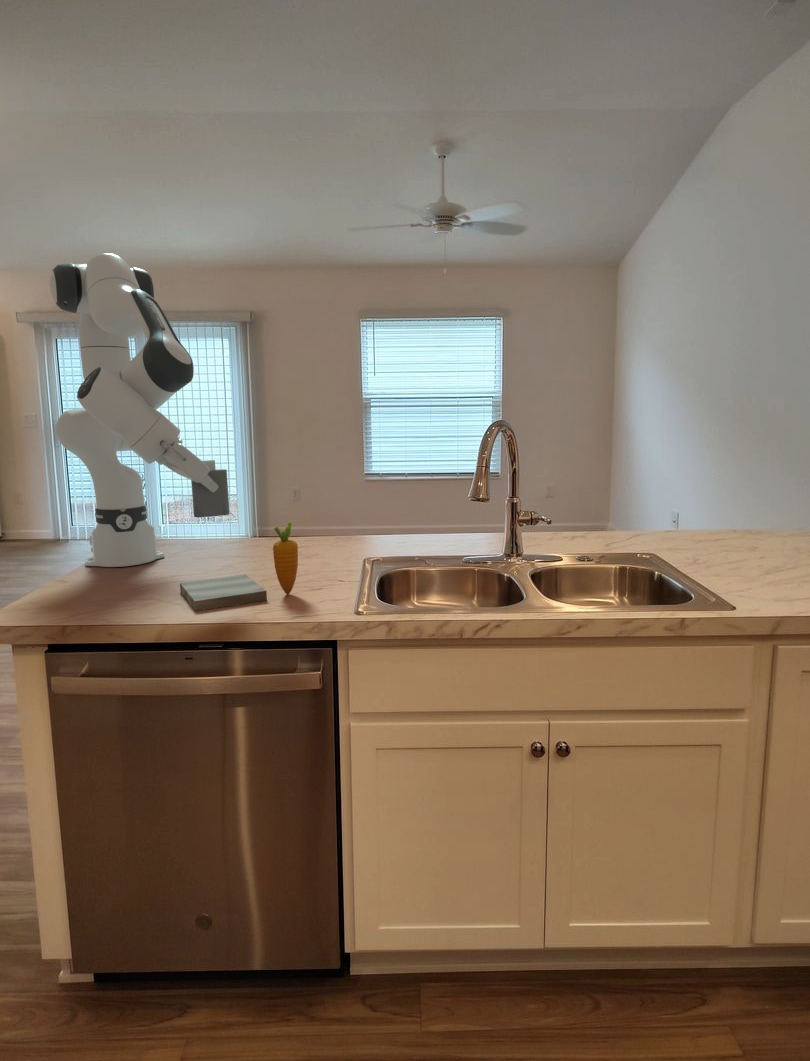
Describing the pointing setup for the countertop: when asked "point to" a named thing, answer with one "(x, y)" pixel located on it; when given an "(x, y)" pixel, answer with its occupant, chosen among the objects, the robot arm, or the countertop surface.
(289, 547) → the carrot
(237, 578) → the striped sage slab
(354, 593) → the countertop surface
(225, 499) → the block
